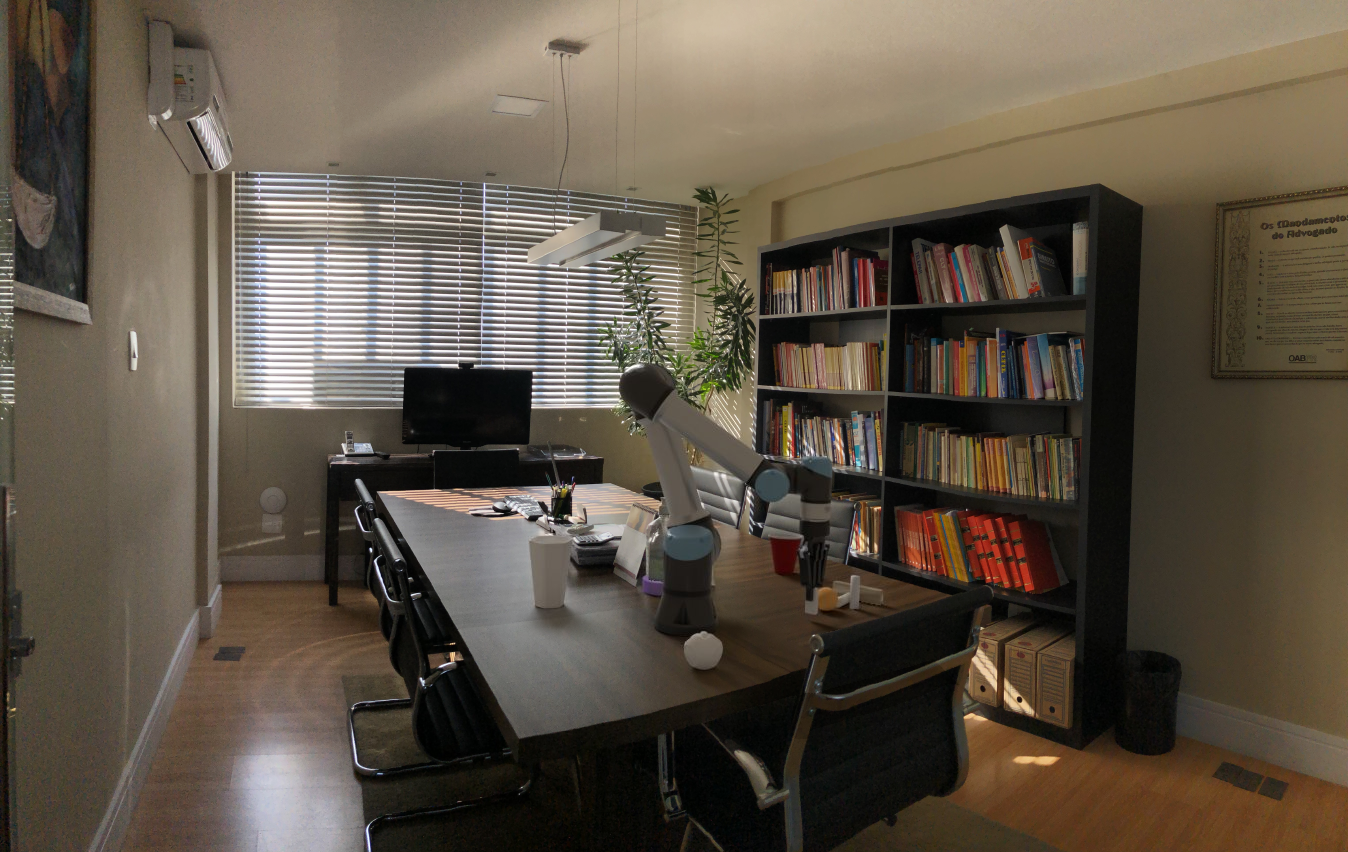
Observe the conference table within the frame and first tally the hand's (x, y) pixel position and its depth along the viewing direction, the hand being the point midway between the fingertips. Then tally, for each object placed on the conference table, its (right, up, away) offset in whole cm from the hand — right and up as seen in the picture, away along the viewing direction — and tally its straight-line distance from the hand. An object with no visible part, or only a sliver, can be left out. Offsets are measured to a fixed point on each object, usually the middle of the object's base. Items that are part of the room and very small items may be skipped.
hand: (811, 612), depth 200 cm
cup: (-66, 0, +7) cm, 67 cm away
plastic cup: (0, +1, +50) cm, 50 cm away
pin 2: (+13, -2, +12) cm, 18 cm away
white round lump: (-28, -3, -36) cm, 46 cm away
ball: (+6, +1, +9) cm, 11 cm away
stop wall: (+16, -1, +20) cm, 26 cm away
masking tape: (-37, 0, +25) cm, 45 cm away
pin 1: (+9, 0, +12) cm, 15 cm away
